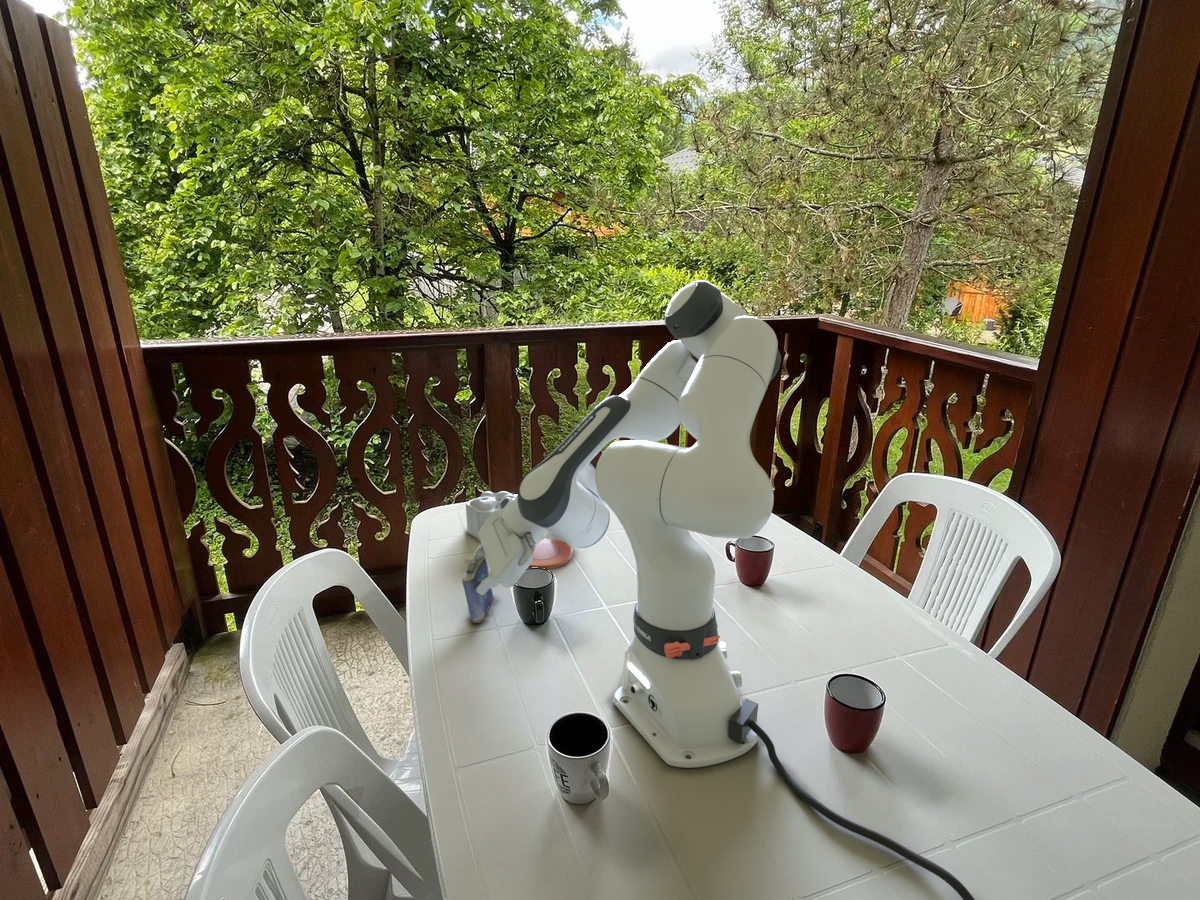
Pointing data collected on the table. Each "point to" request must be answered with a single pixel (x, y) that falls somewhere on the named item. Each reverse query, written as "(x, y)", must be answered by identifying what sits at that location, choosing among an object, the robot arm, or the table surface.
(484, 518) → the lumpy-topped squat cylinder
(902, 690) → the table surface
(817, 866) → the table surface
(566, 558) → the coaster
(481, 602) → the flask
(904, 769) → the table surface
